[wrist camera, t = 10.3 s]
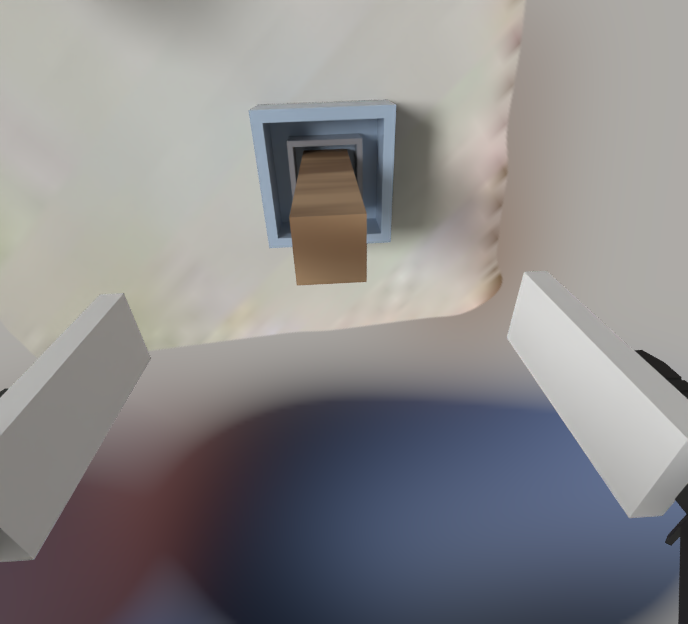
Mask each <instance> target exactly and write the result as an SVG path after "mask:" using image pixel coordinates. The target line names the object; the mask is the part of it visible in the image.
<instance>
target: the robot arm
mask: <svg viewBox="0 0 688 624" xmlns="http://www.w3.org/2000/svg"><path fill="white" fill-rule="evenodd" d="M507 339H508V340H509V342H510V343H511V345H512V346H513V348H514V349H515V351H516V352H517V354H518V355H519V356H520V358H521V360H522V361H523V362H524V364H525V365H526V367H527V368H528V370H529V371H530V373H531V374H532V376H533V377H534V379H535V380H536V381H537V383H538V385H539V386H540V387H541V389H542V390H543V392H544V393H545V395H546V396H547V398H548V399H549V401H550V402H551V404H552V405H553V407H554V408H555V410H556V411H557V412H558V414H559V415H560V417H561V418H562V420H563V421H564V422H565V424H566V426H567V427H568V429H569V430H570V432H571V433H572V435H573V436H574V438H575V439H576V440H577V442H578V443H579V445H580V446H581V448H582V449H583V451H584V452H585V454H586V455H587V456H588V458H589V460H590V461H591V462H592V464H593V466H594V467H595V468H596V470H597V471H598V473H599V474H600V476H601V477H602V479H603V480H604V482H605V483H606V485H607V486H608V488H609V489H610V490H611V492H612V493H613V495H614V496H615V498H616V499H617V501H618V502H619V504H620V505H621V507H622V508H623V510H624V511H625V512H626V514H627V516H628V517H629V518H637V517H652V516H663V515H664V513H665V512H666V511H667V510H668V509H669V507H670V506H671V505H672V504H673V503H674V501H675V500H676V501H677V502H678V504H679V505H680V506H681V508H682V509H683V510H684V511H685V512H686V516H685V517H684V518H683V519H682V520H681V521H680V522H679V524H677V526H676V527H675V528H674V529H673V530H672V531H671V532H670V533H669V534H668V536H667V539H666V541H665V543H667V544H669V545H672V544H673V543H674V542H675V541H676V540H677V539H678V538H679V537H680V578H679V580H680V581H679V622H678V624H688V383H687V382H686V381H685V380H681V376H679V375H678V374H677V373H676V372H675V371H673V370H672V369H671V368H670V367H669V366H668V365H667V364H666V363H664V362H663V361H661V360H659V359H657V358H655V357H654V356H652V355H650V354H648V353H646V352H644V351H643V350H633V349H632V348H631V347H630V346H629V345H628V344H627V343H626V342H624V341H623V340H622V339H621V338H620V337H619V336H618V335H617V334H616V333H615V332H613V331H612V330H611V329H610V328H609V327H608V326H607V325H606V324H605V323H604V322H603V321H601V320H600V319H599V318H598V317H597V316H596V315H595V314H594V313H593V312H592V311H590V310H589V309H588V308H587V307H586V306H585V305H584V304H583V303H582V302H581V301H580V300H578V299H577V298H576V297H575V296H574V295H573V294H572V293H571V292H570V291H568V290H567V289H566V288H565V287H564V286H563V285H562V284H561V283H560V282H559V281H558V280H557V279H555V278H554V277H553V276H552V275H551V274H550V273H549V272H548V271H532V272H524V274H523V278H522V282H521V286H520V289H519V294H518V297H517V301H516V305H515V309H514V313H513V316H512V320H511V324H510V327H509V331H508V335H507ZM150 359H151V357H150V355H149V352H148V350H147V347H146V345H145V343H144V340H143V338H142V335H141V333H140V331H139V328H138V326H137V324H136V321H135V319H134V316H133V314H132V312H131V309H130V307H129V304H128V302H127V300H126V297H125V295H124V293H119V294H101V295H99V296H98V297H97V298H96V299H95V300H94V301H93V302H92V303H91V304H90V305H89V306H88V307H87V308H86V309H85V310H84V311H83V312H82V313H81V315H80V316H79V317H78V318H77V319H76V320H75V321H74V322H73V323H72V324H71V325H70V326H69V327H68V328H67V329H66V330H65V331H64V332H63V333H62V334H61V335H60V336H59V337H58V338H57V339H56V340H55V341H54V342H53V344H52V345H51V346H50V347H49V348H48V349H47V350H46V351H45V352H44V353H43V354H42V355H41V356H40V357H39V358H38V359H37V360H36V361H35V362H34V363H33V364H32V365H31V366H30V367H29V369H28V370H26V372H25V373H24V374H23V375H22V376H21V377H20V378H19V379H18V380H17V381H16V382H15V383H14V384H13V385H12V386H11V387H10V388H9V389H4V390H2V391H1V392H0V562H7V561H20V560H21V561H22V560H34V559H35V557H36V555H37V554H38V552H39V550H40V549H41V547H42V545H43V543H44V542H45V540H46V538H47V536H48V535H49V533H50V531H51V530H52V528H53V526H54V524H55V523H56V521H57V519H58V517H59V516H60V514H61V512H62V511H63V509H64V507H65V506H66V504H67V502H68V500H69V499H70V497H71V495H72V494H73V492H74V490H75V488H76V486H77V485H78V483H79V481H80V480H81V478H82V476H83V475H84V473H85V471H86V469H87V468H88V466H89V464H90V462H91V461H92V459H93V457H94V455H95V454H96V452H97V450H98V448H99V447H100V445H101V444H102V442H103V440H104V438H105V437H106V435H107V433H108V431H109V429H110V428H111V426H112V425H113V423H114V421H115V420H116V418H117V416H118V414H119V413H120V411H121V409H122V407H123V406H124V404H125V402H126V401H127V399H128V397H129V395H130V394H131V392H132V390H133V389H134V387H135V385H136V383H137V382H138V380H139V378H140V376H141V375H142V373H143V371H144V370H145V368H146V366H147V364H148V363H149V361H150Z"/></svg>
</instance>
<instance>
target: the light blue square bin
mask: <svg viewBox="0 0 688 624" xmlns="http://www.w3.org/2000/svg"><path fill="white" fill-rule="evenodd" d="M249 116H250V123H251V129H252V136H253V142H254V149H255V156H256V162H257V169H258V175H259V182H260V189H261V195H262V202H263V208H264V215H265V222H266V228H267V235H268V241H269V248H281V247H292V238H291V229H290V220H289V216H290V211H291V206H292V202H293V197H294V192H295V188H296V183H297V178H298V174H299V169H300V164H301V160H302V155H303V150H325V149H347V151H348V154H349V158H350V161H351V164H352V168H353V171H354V174H355V177H356V181H357V184H358V187H359V190H360V194H361V197H362V200H363V203H364V207H365V210H366V213H367V243H384V242H391V219H392V195H393V170H394V146H395V122H396V104H394V103H392V102H390V101H388V100H364V101H338V102H312V103H287V104H261V105H257V106H255V107H253V108H252V109H250V110H249Z"/></svg>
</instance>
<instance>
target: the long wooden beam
mask: <svg viewBox="0 0 688 624" xmlns="http://www.w3.org/2000/svg"><path fill="white" fill-rule="evenodd" d="M289 220H290V229H291V238H292V247H293V255H294V264H295V273H296V282H297V285H314V284H333V283H353V282H366V277H367V213H366V210H365V207H364V203H363V200H362V197H361V194H360V190H359V187H358V184H357V181H356V177H355V174H354V171H353V168H352V164H351V161H350V158H349V154H348V151H347V149H325V150H303V155H302V160H301V164H300V169H299V174H298V178H297V183H296V188H295V192H294V197H293V202H292V206H291V211H290V216H289Z"/></svg>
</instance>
